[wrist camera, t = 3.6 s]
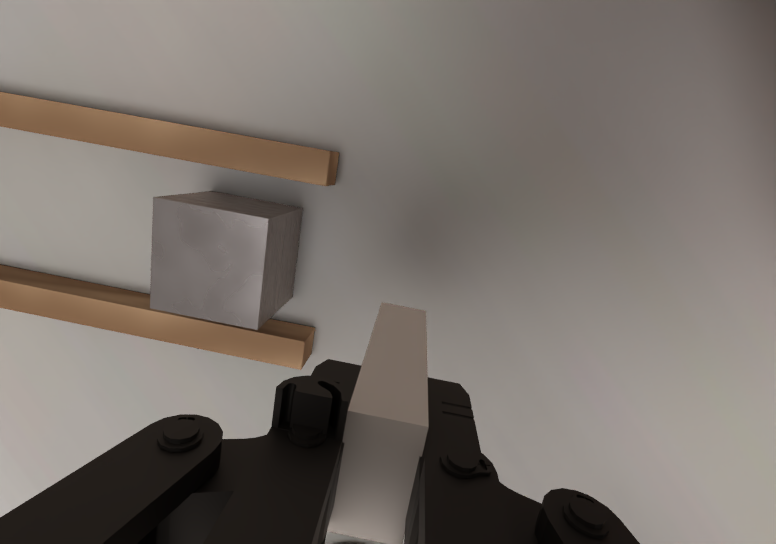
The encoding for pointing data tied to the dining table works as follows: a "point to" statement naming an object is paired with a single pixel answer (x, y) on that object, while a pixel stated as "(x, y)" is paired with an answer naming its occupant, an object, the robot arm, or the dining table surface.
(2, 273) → the oak track
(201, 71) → the dining table surface
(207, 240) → the block
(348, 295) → the dining table surface
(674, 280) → the dining table surface
